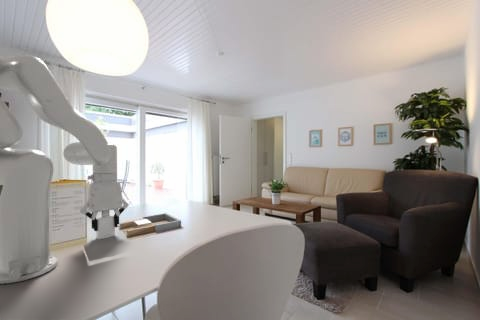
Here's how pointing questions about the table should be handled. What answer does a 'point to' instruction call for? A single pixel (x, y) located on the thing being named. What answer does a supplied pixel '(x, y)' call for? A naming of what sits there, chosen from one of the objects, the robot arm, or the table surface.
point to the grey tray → (164, 226)
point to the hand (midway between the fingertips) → (105, 227)
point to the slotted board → (142, 229)
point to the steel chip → (142, 223)
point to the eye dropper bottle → (105, 225)
